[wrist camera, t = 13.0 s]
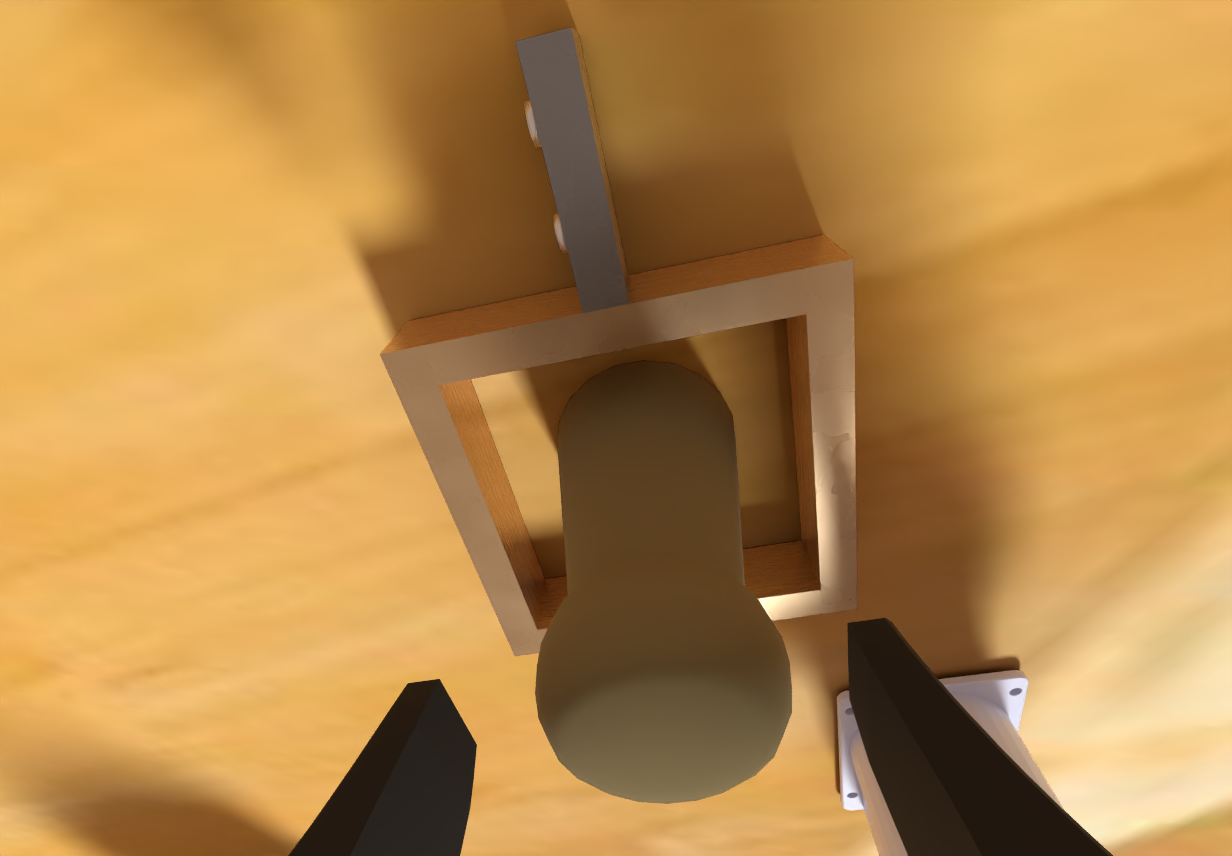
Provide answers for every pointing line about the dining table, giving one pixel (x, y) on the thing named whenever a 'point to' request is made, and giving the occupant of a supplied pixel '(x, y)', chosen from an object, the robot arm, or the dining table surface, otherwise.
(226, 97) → the dining table surface
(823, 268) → the square frame
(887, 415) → the dining table surface
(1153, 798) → the dining table surface
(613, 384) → the cork
